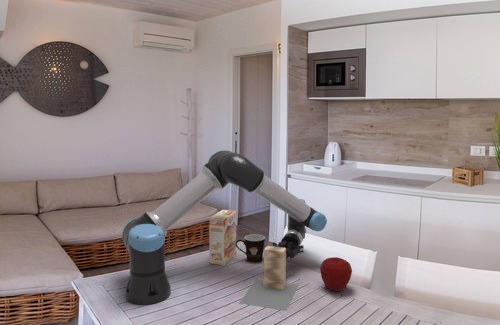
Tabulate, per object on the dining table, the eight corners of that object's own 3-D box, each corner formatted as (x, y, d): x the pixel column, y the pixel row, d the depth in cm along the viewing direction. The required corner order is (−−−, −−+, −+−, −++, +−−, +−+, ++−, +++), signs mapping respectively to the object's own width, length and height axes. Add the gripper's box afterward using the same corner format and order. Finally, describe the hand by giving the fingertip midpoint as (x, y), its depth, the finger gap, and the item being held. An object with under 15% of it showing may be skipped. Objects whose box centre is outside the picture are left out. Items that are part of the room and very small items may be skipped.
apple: (316, 292, 143) (316, 260, 142) (324, 280, 153) (324, 250, 151) (347, 298, 138) (349, 265, 137) (354, 286, 148) (355, 255, 147)
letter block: (263, 287, 146) (264, 249, 144) (266, 282, 150) (267, 245, 148) (282, 289, 144) (283, 251, 142) (285, 285, 148) (286, 247, 146)
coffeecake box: (224, 265, 167) (224, 219, 165) (208, 263, 169) (208, 217, 167) (237, 253, 181) (237, 210, 179) (222, 251, 183) (221, 209, 181)
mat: (238, 304, 134) (238, 303, 134) (256, 280, 153) (256, 279, 153) (286, 311, 129) (286, 310, 129) (298, 285, 148) (298, 284, 148)
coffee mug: (268, 259, 174) (268, 236, 173) (258, 265, 167) (258, 242, 166) (245, 254, 180) (245, 232, 179) (234, 260, 173) (234, 237, 172)
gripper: (307, 251, 169) (295, 273, 147) (276, 248, 173) (260, 269, 151) (307, 234, 168) (296, 253, 146) (276, 231, 172) (261, 249, 150)
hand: (278, 261), depth 148 cm, fingers closed
